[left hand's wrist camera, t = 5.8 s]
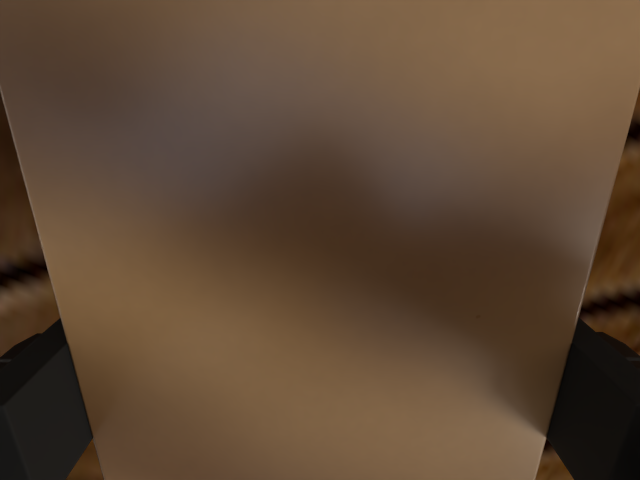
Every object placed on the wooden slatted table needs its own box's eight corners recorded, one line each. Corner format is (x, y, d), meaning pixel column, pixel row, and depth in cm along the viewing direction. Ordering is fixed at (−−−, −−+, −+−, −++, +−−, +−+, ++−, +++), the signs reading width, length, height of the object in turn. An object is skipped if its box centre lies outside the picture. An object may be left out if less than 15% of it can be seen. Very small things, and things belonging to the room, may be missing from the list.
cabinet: (163, -138, 14) (-221, -713, 4) (475, -138, 14) (856, -704, 4) (211, 305, 20) (109, 507, 10) (426, 305, 20) (529, 506, 10)
